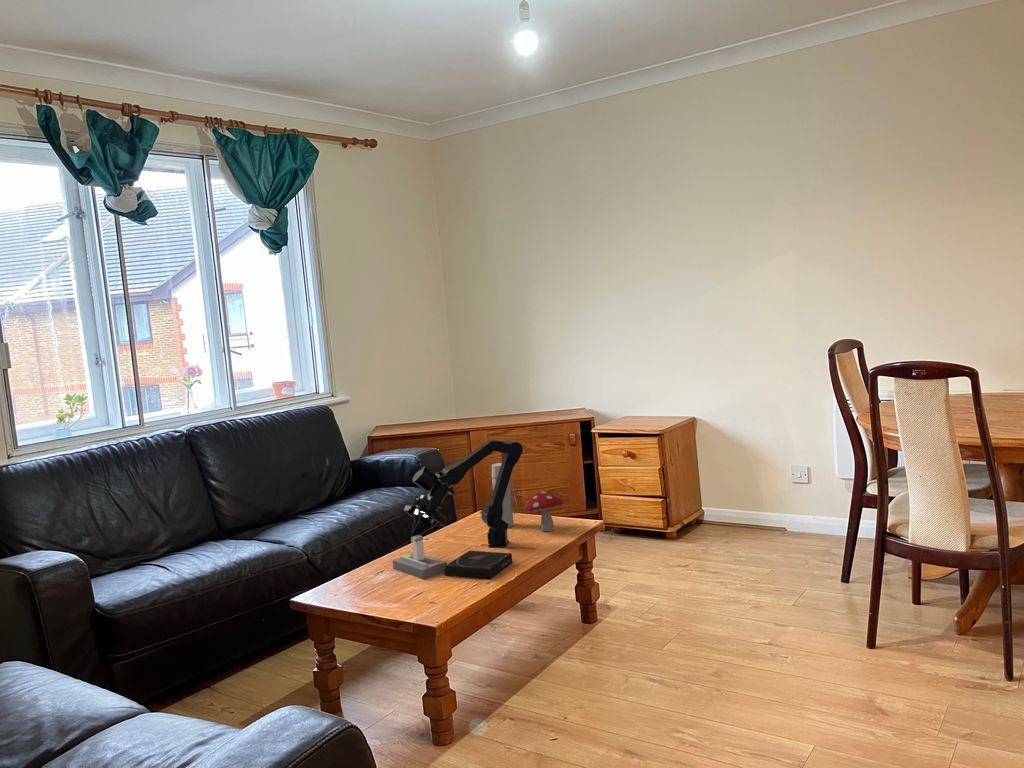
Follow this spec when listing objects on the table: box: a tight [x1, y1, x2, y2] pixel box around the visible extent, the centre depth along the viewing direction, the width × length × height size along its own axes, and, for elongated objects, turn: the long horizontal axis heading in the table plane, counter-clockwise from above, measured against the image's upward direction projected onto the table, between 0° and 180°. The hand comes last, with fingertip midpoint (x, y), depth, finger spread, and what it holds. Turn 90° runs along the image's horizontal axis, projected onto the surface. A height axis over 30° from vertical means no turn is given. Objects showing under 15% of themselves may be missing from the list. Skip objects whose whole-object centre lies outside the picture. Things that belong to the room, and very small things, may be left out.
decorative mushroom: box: [522, 491, 565, 532], centre depth 307 cm, size 16×16×15 cm
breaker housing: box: [392, 552, 448, 580], centre depth 273 cm, size 10×18×4 cm, turn 41°
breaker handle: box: [410, 534, 425, 561], centre depth 272 cm, size 3×3×8 cm
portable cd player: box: [444, 550, 514, 581], centre depth 268 cm, size 16×17×4 cm
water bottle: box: [491, 462, 518, 528], centre depth 318 cm, size 9×8×25 cm
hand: (411, 535), depth 277 cm, fingers closed
